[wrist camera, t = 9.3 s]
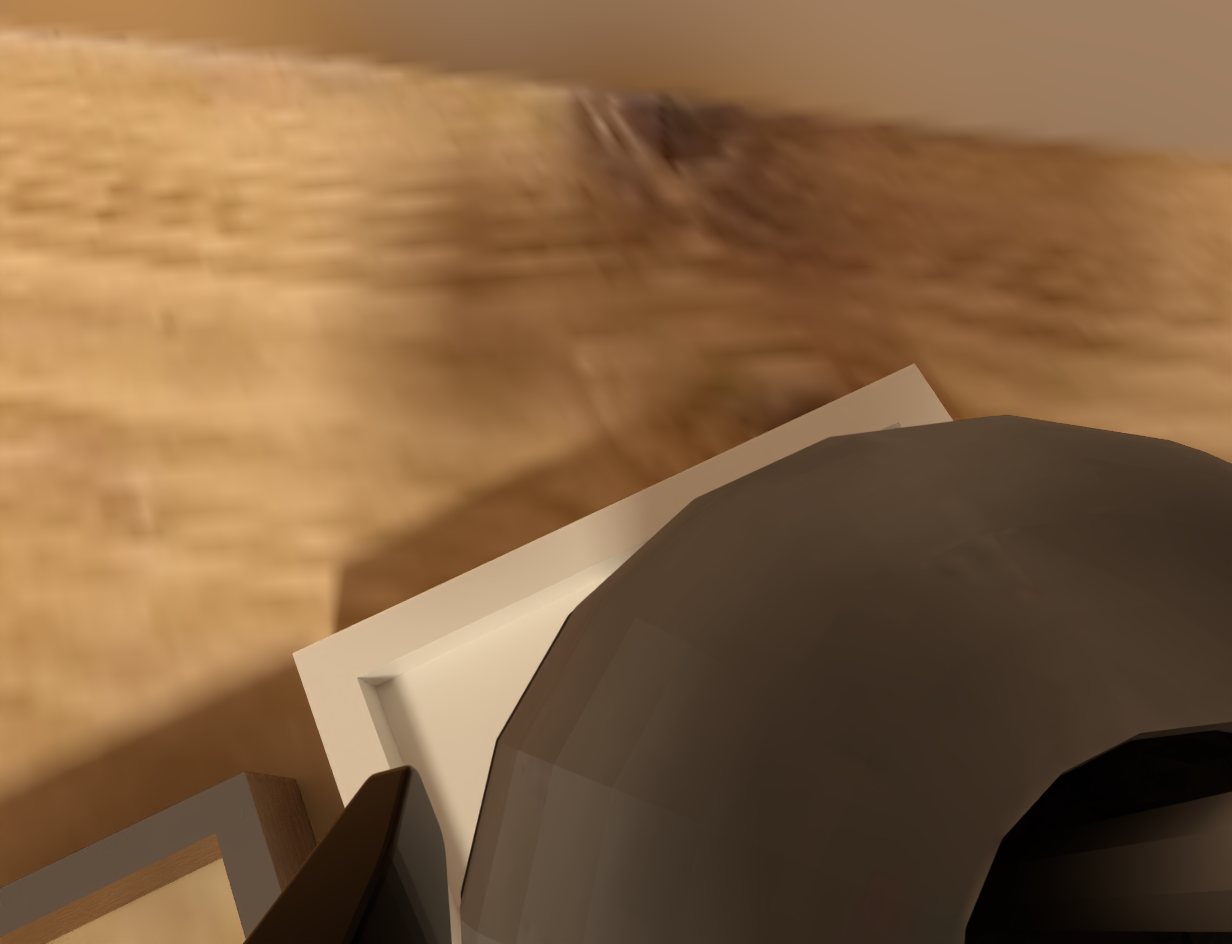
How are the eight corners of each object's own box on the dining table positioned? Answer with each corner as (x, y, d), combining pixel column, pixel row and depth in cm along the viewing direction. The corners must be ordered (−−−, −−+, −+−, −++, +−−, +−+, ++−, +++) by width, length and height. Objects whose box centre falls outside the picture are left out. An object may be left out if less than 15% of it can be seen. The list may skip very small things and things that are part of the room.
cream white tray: (891, 407, 22) (914, 363, 20) (1301, 1034, 17) (1387, 1061, 15) (330, 671, 20) (292, 653, 18) (602, 1441, 16) (590, 1532, 14)
